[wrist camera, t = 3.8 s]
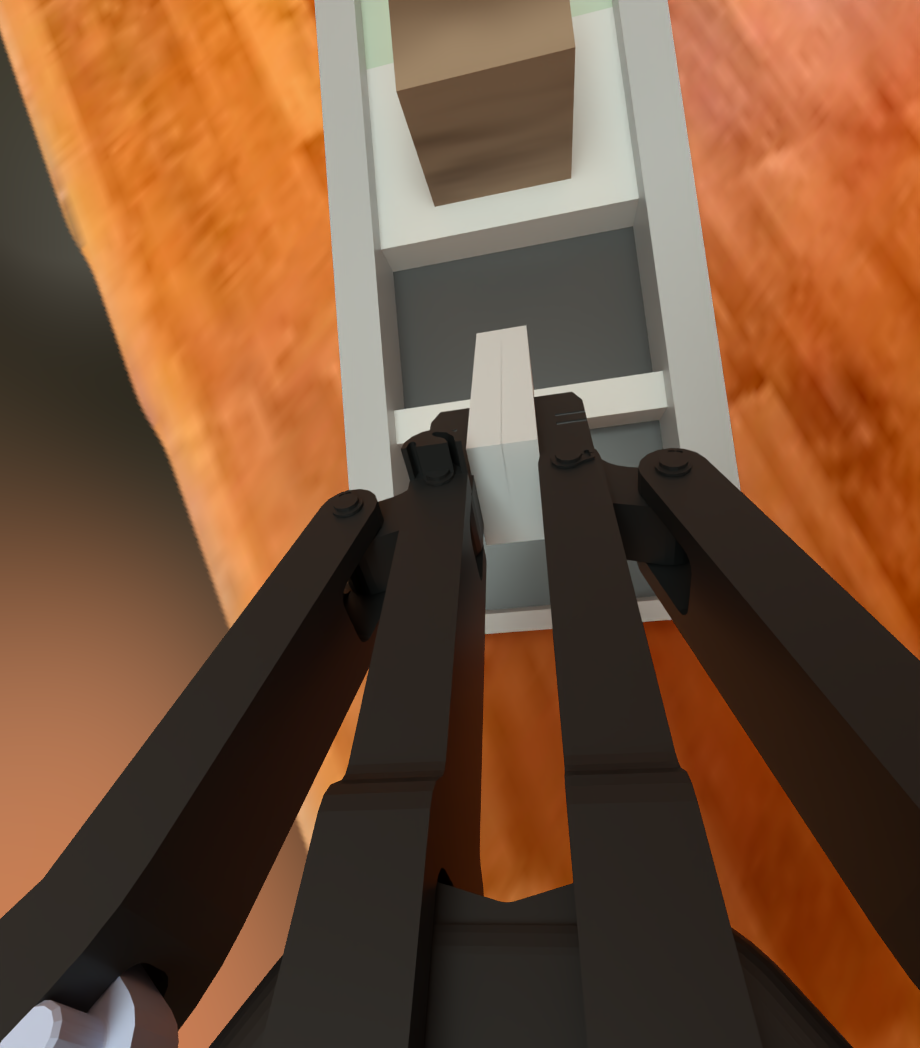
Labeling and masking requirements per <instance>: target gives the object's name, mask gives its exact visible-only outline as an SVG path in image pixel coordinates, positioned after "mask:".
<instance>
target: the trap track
mask: <svg viewBox="0 0 920 1048" xmlns="http://www.w3.org/2000/svg"><path fill="white" fill-rule="evenodd" d="M570 8H571V16H572V24H573V32H574V39H575V78H574V109H573V139H572V170H571V179H566V180H561V181H557V182H552V183H547V184H542V185H537V186H533V187H528V188H523V189H518V190H513V191H509V192H504V193H499V194H494V195H489V196H485V197H480V198H475V199H470V200H465V201H461V202H456V203H451V204H446V205H441V206H436V207H435V206H434V203H433V200H432V197H431V194H430V191H429V188H428V185H427V182H426V179H425V176H424V173H423V170H422V167H421V164H420V161H419V158H418V155H417V152H416V149H415V146H414V143H413V140H412V137H411V134H410V131H409V128H408V125H407V122H406V119H405V116H404V113H403V110H402V107H401V104H400V101H399V98H398V95H397V92H396V84H395V72H394V61H393V49H392V38H391V26H390V15H389V3H388V0H315V14H316V28H317V42H318V56H319V70H320V84H321V99H322V113H323V127H324V141H325V155H326V169H327V183H328V197H329V212H330V226H331V240H332V254H333V268H334V282H335V296H336V310H337V325H338V339H339V353H340V367H341V381H342V395H343V409H344V423H345V438H346V452H347V466H348V480H349V490H355V489H363V490H369V491H371V492H372V493H374V494H375V495H376V498H377V501H378V502H379V501H382V500H385V499H388V498H391V497H394V496H396V495H399V494H401V493H403V492H405V491H407V490H408V487H409V482H410V479H409V476H408V472H407V469H406V466H405V462H404V459H403V456H402V452H401V447H402V446H403V444H404V442H406V441H407V440H408V439H410V438H411V437H412V436H414V435H417V434H419V433H421V432H424V431H428V430H430V426H431V422H432V421H433V420H434V419H435V418H436V417H437V415H438V414H439V413H440V412H445V411H452V410H459V409H465V408H470V399H471V389H472V378H473V367H474V356H475V345H476V334H477V333H483V332H489V331H495V330H501V329H507V328H513V327H519V326H525V325H526V328H527V336H528V345H529V354H530V362H531V371H532V380H533V389H534V397H538V396H545V395H552V394H558V393H565V392H573V393H574V394H576V395H577V396H578V397H580V398H581V399H582V400H583V404H584V409H585V413H586V417H587V421H588V425H589V429H590V433H591V437H592V441H593V445H594V449H596V450H597V451H598V453H599V454H600V456H601V459H602V460H604V461H606V462H608V463H611V464H614V465H618V466H626V467H638V466H639V463H640V460H641V459H642V458H643V457H645V456H646V455H647V454H649V453H651V452H654V451H656V450H660V449H667V448H682V449H687V450H691V451H694V452H697V453H699V454H700V455H702V456H703V457H705V458H706V459H707V460H708V461H709V462H710V463H711V464H712V465H713V466H715V467H716V468H717V469H718V470H719V471H720V472H721V473H722V474H723V475H724V476H725V477H726V478H727V479H728V480H729V481H730V482H731V483H732V484H734V485H735V486H736V487H737V488H738V489H739V490H740V483H739V477H738V470H737V463H736V456H735V450H734V443H733V436H732V430H731V423H730V416H729V410H728V403H727V396H726V390H725V383H724V376H723V369H722V363H721V356H720V349H719V343H718V336H717V329H716V323H715V316H714V309H713V302H712V296H711V289H710V282H709V276H708V269H707V262H706V256H705V249H704V242H703V235H702V229H701V222H700V215H699V209H698V202H697V195H696V189H695V182H694V175H693V169H692V162H691V155H690V148H689V142H688V135H687V128H686V122H685V115H684V108H683V102H682V95H681V88H680V81H679V75H678V68H677V61H676V55H675V48H674V41H673V35H672V28H671V21H670V14H669V8H668V1H667V0H570ZM740 491H741V490H740ZM483 545H484V550H485V554H486V559H487V568H486V609H485V634H492V633H505V632H518V631H531V630H544V629H552V617H551V606H550V595H549V584H548V572H547V561H546V550H545V539H541V540H532V541H522V542H513V543H503V544H493V545H486V541H485V536H484V538H483ZM627 563H628V567H629V571H630V575H631V579H632V583H633V587H634V591H635V595H636V599H637V603H638V607H639V611H640V614H641V618H642V622H648V621H661V620H672V619H671V617H670V616H669V614H668V613H667V611H666V610H665V608H664V607H663V605H662V604H661V602H660V601H659V599H658V598H657V596H656V595H655V593H654V591H653V590H652V588H651V587H650V585H649V584H648V582H647V581H646V579H645V578H644V576H643V575H642V573H641V572H640V570H639V567H638V564H637V561H631V560H627Z"/></svg>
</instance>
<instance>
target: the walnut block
mask: <svg viewBox="0 0 920 1048" xmlns="http://www.w3.org/2000/svg"><path fill="white" fill-rule="evenodd" d="M388 3H389V15H390V26H391V38H392V49H393V61H394V72H395V84H396V92H397V95H398V98H399V101H400V104H401V107H402V110H403V113H404V116H405V119H406V122H407V125H408V128H409V131H410V134H411V137H412V140H413V143H414V146H415V149H416V152H417V155H418V158H419V161H420V164H421V167H422V170H423V173H424V176H425V179H426V182H427V185H428V188H429V191H430V194H431V197H432V200H433V203H434V206H435V207H436V206H441V205H446V204H451V203H456V202H461V201H465V200H470V199H475V198H480V197H485V196H489V195H494V194H499V193H504V192H509V191H513V190H518V189H523V188H528V187H533V186H537V185H542V184H547V183H552V182H557V181H561V180H566V179H571V170H572V139H573V109H574V78H575V39H574V32H573V24H572V16H571V8H570V0H388Z"/></svg>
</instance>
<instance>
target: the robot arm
mask: <svg viewBox="0 0 920 1048" xmlns="http://www.w3.org/2000/svg"><path fill="white" fill-rule="evenodd" d="M401 452H402V456H403V459H404V462H405V466H406V469H407V472H408V476H409V479H410V482H409V487H408V490H407V491H405V492H403V493H401V494H399V495H396V496H394V497H391V498H388V499H385V500H382V501H379V502H378V501H377V498H376V495H375V494H374V493H372V492H371V491H369V490H363V489H355V490H348V491H345V492H341V493H339V494H337V495H335V496H334V497H332V498H330V499H329V500H328V501H327V502H326V503H325V504H324V505H323V506H322V507H321V508H320V509H319V511H318V512H317V513H316V515H315V516H314V517H313V519H312V520H311V521H310V523H309V524H308V525H307V527H306V528H305V529H304V531H303V532H302V533H301V535H300V536H299V537H298V539H297V540H296V541H295V543H294V544H293V545H292V547H291V548H290V549H289V551H288V552H287V553H286V555H285V556H284V557H283V559H282V560H281V561H280V563H279V564H278V565H277V567H276V568H275V569H274V571H273V572H272V573H271V575H270V576H269V577H268V579H267V580H266V582H265V583H264V584H263V586H262V587H261V588H260V590H259V591H258V592H257V594H256V595H255V596H254V598H253V599H252V600H251V602H250V603H249V604H248V606H247V607H246V608H245V610H244V611H243V612H242V614H241V615H240V616H239V618H238V619H237V620H236V622H235V623H234V624H233V626H232V627H231V628H230V630H229V631H228V632H227V634H226V635H225V636H224V638H223V639H222V640H221V642H220V643H219V644H218V646H217V647H216V648H215V650H214V651H213V652H212V654H211V655H210V657H209V658H208V659H207V660H206V662H205V663H204V664H203V666H202V667H201V668H200V670H199V671H198V672H197V674H196V675H195V676H194V678H193V679H192V680H191V682H190V683H189V684H188V686H187V687H186V689H185V690H184V691H183V692H182V694H181V695H180V697H179V698H178V699H177V700H176V702H175V703H174V704H173V706H172V707H171V708H170V710H169V711H168V712H167V714H166V715H165V716H164V718H163V719H162V720H161V722H160V723H159V724H158V726H157V727H156V728H155V730H154V731H153V732H152V734H151V735H150V736H149V738H148V739H147V741H146V742H145V743H144V745H143V746H142V747H141V749H140V750H139V751H138V753H137V754H136V755H135V757H134V758H133V759H132V761H131V762H130V763H129V765H128V766H127V767H126V769H125V770H124V771H123V773H122V774H121V775H120V777H119V778H118V779H117V781H116V782H115V783H114V785H113V786H112V787H111V789H110V790H109V792H108V793H107V794H106V795H105V797H104V798H103V799H102V801H101V802H100V803H99V805H98V806H97V807H96V809H95V810H94V811H93V813H92V814H91V815H90V817H89V818H88V819H87V821H86V822H85V823H84V825H83V826H82V827H81V829H80V830H79V832H78V833H77V834H76V835H75V837H74V838H73V839H72V841H71V842H70V843H69V845H68V846H67V847H66V849H65V850H64V851H63V853H62V854H61V855H60V857H59V858H58V860H57V861H56V862H55V863H54V865H53V866H52V868H51V869H50V870H49V872H48V873H47V874H46V875H45V877H44V878H43V879H42V880H41V881H40V882H39V883H38V884H37V885H36V886H35V887H34V888H33V889H32V890H31V891H30V892H28V893H27V894H26V896H24V897H23V898H22V899H21V900H20V901H19V902H18V903H17V904H16V905H15V906H14V907H13V908H11V909H10V910H9V911H8V912H7V913H6V914H5V915H4V916H3V917H2V918H1V919H0V1048H178V1042H179V1041H178V1030H179V1029H180V1027H181V1026H182V1025H183V1024H184V1022H185V1021H186V1020H187V1018H188V1017H189V1016H190V1014H191V1013H192V1011H193V1010H194V1009H195V1007H196V1006H197V1004H198V1003H199V1001H200V999H201V998H202V996H203V995H204V993H205V992H206V990H207V988H208V987H209V985H210V984H211V982H212V980H213V979H214V977H215V976H216V974H217V973H218V971H219V970H220V968H221V966H222V965H223V963H224V961H225V959H226V957H227V955H228V953H229V951H230V950H231V948H232V946H233V944H234V942H235V940H236V938H237V936H238V935H239V933H240V931H241V929H242V927H243V925H244V923H245V921H246V919H247V917H248V915H249V913H250V911H251V909H252V906H253V905H254V903H255V901H256V899H257V896H258V894H259V892H260V890H261V888H262V886H263V884H264V882H265V880H266V878H267V876H268V874H269V872H270V870H271V868H272V866H273V864H274V862H275V860H276V857H277V855H278V853H279V851H280V849H281V847H282V845H283V843H284V841H285V839H286V837H287V835H288V833H289V831H290V829H291V827H292V825H293V823H294V820H295V818H296V816H297V814H298V812H299V810H300V808H301V806H302V804H303V802H304V800H305V798H306V796H307V794H308V792H309V790H310V788H311V786H312V784H313V782H314V779H315V777H316V775H317V773H318V771H319V769H320V767H321V765H322V763H323V761H324V759H325V757H326V755H327V753H328V751H329V749H330V747H331V745H332V743H333V741H334V738H335V736H336V734H337V732H338V730H339V728H340V726H341V724H342V722H343V720H344V718H345V716H346V714H347V712H348V710H349V708H350V706H351V704H352V702H353V699H354V697H355V695H356V693H357V691H358V689H359V687H360V685H361V683H362V681H363V679H364V677H365V675H366V673H367V671H368V669H369V672H368V676H367V681H366V685H365V690H364V695H363V699H362V704H361V709H360V713H359V718H358V722H357V727H356V732H355V736H354V741H353V745H352V750H351V755H350V759H349V764H348V768H347V771H346V774H345V776H344V777H343V779H342V780H341V781H338V782H336V783H333V784H331V785H330V786H329V788H328V789H327V791H326V792H325V794H324V796H323V799H322V802H321V804H320V807H319V810H318V814H317V818H316V822H315V826H314V830H313V835H312V839H311V843H310V847H309V851H308V855H307V859H306V863H305V868H304V872H303V876H302V880H301V884H300V888H299V892H298V896H297V900H296V905H295V908H294V913H293V917H292V921H291V925H290V929H289V934H288V938H287V941H286V945H285V950H284V954H283V956H282V957H281V958H280V959H279V960H278V961H277V963H276V964H275V965H274V966H273V968H272V969H271V970H270V971H269V973H268V974H267V975H266V976H265V977H264V979H263V980H262V981H261V983H260V984H259V985H258V986H257V988H256V989H255V990H254V991H253V993H252V994H251V995H250V996H249V998H248V999H247V1000H246V1001H245V1003H244V1004H243V1005H242V1006H241V1008H240V1009H239V1010H238V1011H237V1013H236V1014H235V1015H234V1016H233V1018H232V1019H231V1020H230V1021H229V1023H228V1024H227V1025H226V1026H225V1028H224V1029H223V1030H222V1031H221V1033H220V1034H219V1035H218V1036H217V1038H216V1039H215V1040H214V1041H213V1043H212V1044H211V1045H210V1047H209V1048H853V1047H852V1046H851V1045H850V1044H849V1043H848V1041H847V1040H846V1039H845V1038H844V1037H843V1036H842V1035H841V1034H840V1033H839V1032H838V1031H837V1029H836V1028H835V1027H834V1026H833V1025H832V1024H831V1023H830V1022H829V1021H828V1020H827V1019H826V1018H825V1016H824V1015H823V1014H822V1013H821V1012H820V1011H819V1010H818V1009H817V1008H816V1007H815V1006H814V1005H813V1003H812V1002H811V1001H810V1000H809V999H808V998H807V997H806V996H805V995H804V994H803V993H802V991H801V990H800V989H799V988H798V987H797V986H796V985H795V984H794V983H793V982H792V981H791V980H790V978H789V977H788V976H787V975H786V974H785V973H784V972H783V971H782V970H781V969H780V968H779V967H778V966H777V965H776V964H775V963H774V962H773V961H772V960H771V959H770V958H769V957H768V956H767V955H765V954H764V953H763V952H762V951H761V950H760V949H759V948H758V947H756V946H755V945H754V944H753V943H752V942H751V941H749V940H748V939H747V938H745V937H744V936H742V935H741V934H740V933H738V932H737V931H736V930H734V929H733V928H731V926H730V922H729V919H728V915H727V911H726V907H725V903H724V900H723V896H722V892H721V888H720V885H719V881H718V877H717V873H716V870H715V866H714V862H713V858H712V855H711V851H710V847H709V843H708V839H707V836H706V832H705V828H704V824H703V821H702V817H701V813H700V809H699V806H698V802H697V798H696V795H695V792H694V789H693V785H692V782H691V780H690V778H689V776H688V774H687V772H686V771H685V770H684V769H682V768H681V767H680V765H679V763H678V760H677V756H676V753H675V749H674V745H673V741H672V737H671V733H670V729H669V726H668V722H667V718H666V714H665V710H664V706H663V702H662V698H661V694H660V690H659V686H658V682H657V678H656V674H655V670H654V666H653V662H652V658H651V654H650V650H649V646H648V642H647V638H646V634H645V630H644V626H643V622H642V618H641V614H640V611H639V607H638V603H637V599H636V595H635V591H634V587H633V583H632V579H631V575H630V571H629V567H628V563H627V560H631V561H637V564H638V567H639V570H640V572H641V573H642V575H643V576H644V578H645V579H646V581H647V582H648V584H649V585H650V587H651V588H652V590H653V591H654V593H655V595H656V596H657V598H658V599H659V601H660V602H661V604H662V605H663V607H664V608H665V610H666V611H667V613H668V614H669V616H670V617H671V619H672V620H673V622H674V623H675V625H676V627H677V628H678V630H679V631H680V633H681V634H682V636H683V637H684V639H685V640H686V642H687V643H688V645H689V646H690V648H691V649H692V651H693V652H694V654H695V655H696V657H697V659H698V660H699V662H700V663H701V665H702V666H703V668H704V669H705V671H706V672H707V674H708V675H709V677H710V678H711V680H712V681H713V683H714V684H715V686H716V688H717V689H718V691H719V692H720V694H721V695H722V697H723V698H724V700H725V701H726V703H727V704H728V706H729V707H730V709H731V710H732V712H733V713H734V715H735V716H736V718H737V720H738V721H739V723H740V724H741V726H742V727H743V729H744V730H745V732H746V733H747V735H748V736H749V738H750V739H751V741H752V742H753V744H754V745H755V747H756V748H757V750H758V752H759V753H760V755H761V756H762V758H763V759H764V761H765V762H766V764H767V765H768V767H769V768H770V770H771V771H772V773H773V774H774V776H775V777H776V779H777V780H778V782H779V784H780V785H781V787H782V788H783V790H784V791H785V793H786V794H787V796H788V797H789V799H790V800H791V802H792V803H793V805H794V806H795V808H796V809H797V811H798V812H799V814H800V816H801V817H802V819H803V820H804V822H805V823H806V825H807V826H808V828H809V829H810V831H811V832H812V834H813V835H814V837H815V838H816V840H817V841H818V843H819V844H820V846H821V848H822V849H823V851H824V852H825V854H826V855H827V857H828V858H829V860H830V861H831V863H832V864H833V866H834V867H835V869H836V870H837V872H838V873H839V875H840V876H841V878H842V880H843V881H844V883H845V884H846V886H847V887H848V889H849V890H850V892H851V893H852V895H853V896H854V898H855V899H856V901H857V902H858V904H859V905H860V907H861V908H862V910H863V912H864V913H865V915H866V916H867V918H868V919H869V921H870V922H871V924H872V925H873V927H874V928H875V930H876V931H877V933H878V934H879V936H880V937H881V938H882V940H883V941H884V943H885V944H886V945H887V947H888V948H889V950H890V951H891V952H892V954H893V955H894V957H895V958H896V959H897V961H898V962H899V964H900V965H901V966H902V968H903V969H904V971H905V972H906V973H907V975H908V976H909V978H910V979H911V980H912V982H913V983H914V984H915V985H916V986H917V988H918V989H919V990H920V661H919V660H918V659H917V658H916V657H915V656H914V655H913V654H912V653H911V652H910V651H909V650H908V649H907V648H906V647H905V646H904V645H903V644H901V643H900V642H899V641H898V640H897V639H896V638H895V637H894V636H893V635H892V634H891V633H890V632H889V631H888V630H887V629H886V628H885V627H883V626H882V625H881V624H880V623H879V622H878V621H877V620H876V619H875V618H874V617H873V616H872V615H871V614H870V613H869V612H868V611H867V610H866V609H864V608H863V607H862V606H861V605H860V604H859V603H858V602H857V601H856V600H855V599H854V598H853V597H852V596H851V595H850V594H849V593H848V592H847V591H845V590H844V589H843V588H842V587H841V586H840V585H839V584H838V583H837V582H836V581H835V580H834V579H833V578H832V577H831V576H830V575H829V574H828V573H826V572H825V571H824V570H823V569H822V568H821V567H820V566H819V565H818V564H817V563H816V562H815V561H814V560H813V559H812V558H811V557H810V556H809V555H807V554H806V553H805V552H804V551H803V550H802V549H801V548H800V547H799V546H798V545H797V544H796V543H795V542H794V541H793V540H792V539H791V538H789V537H788V536H787V535H786V534H785V533H784V532H783V531H782V530H781V529H780V528H779V527H778V526H777V525H776V524H775V523H774V522H773V521H772V520H770V519H769V518H768V517H767V516H766V515H765V514H764V513H763V512H762V511H761V510H760V509H759V508H758V507H757V506H756V505H755V504H754V503H753V502H751V501H750V500H749V499H748V498H747V497H746V496H745V495H744V494H743V493H742V492H741V491H740V490H739V489H738V488H737V487H736V486H735V485H734V484H732V483H731V482H730V481H729V480H728V479H727V478H726V477H725V476H724V475H723V474H722V473H721V472H720V471H719V470H718V469H717V468H716V467H715V466H713V465H712V464H711V463H710V462H709V461H708V460H707V459H706V458H705V457H703V456H702V455H700V454H699V453H697V452H694V451H691V450H687V449H682V448H667V449H660V450H656V451H654V452H651V453H649V454H647V455H646V456H645V457H643V458H642V459H641V460H640V463H639V466H638V467H626V466H618V465H614V464H611V463H608V462H606V461H604V460H602V459H601V456H600V454H599V453H598V451H597V450H596V449H594V445H593V441H592V437H591V433H590V429H589V425H588V421H587V417H586V413H585V409H584V404H583V400H582V399H581V398H580V397H578V396H577V395H576V394H574V393H573V392H565V393H558V394H552V395H545V396H538V397H534V389H533V380H532V371H531V362H530V354H529V345H528V336H527V328H526V325H525V326H519V327H513V328H507V329H501V330H495V331H489V332H483V333H477V334H476V345H475V356H474V367H473V378H472V389H471V399H470V408H465V409H459V410H452V411H445V412H440V413H439V414H438V415H437V417H436V418H435V419H434V420H433V421H432V422H431V426H430V430H428V431H424V432H421V433H419V434H417V435H414V436H412V437H411V438H410V439H408V440H407V441H406V442H404V444H403V446H402V447H401ZM484 536H485V541H486V545H493V544H503V543H513V542H522V541H532V540H541V539H545V550H546V561H547V572H548V584H549V595H550V606H551V617H552V629H553V640H554V651H555V663H556V674H557V685H558V696H559V708H560V719H561V730H562V742H563V753H564V765H565V789H566V802H567V814H568V825H569V837H570V848H571V860H572V871H573V883H572V884H569V885H566V886H563V887H560V888H556V889H553V890H550V891H547V892H544V893H540V894H537V895H534V896H531V897H528V898H524V899H521V900H518V901H514V902H500V901H496V900H493V899H490V898H487V897H484V893H483V882H482V874H481V866H480V812H481V772H482V731H483V690H484V650H485V609H486V568H487V559H486V554H485V550H484V545H483V538H484Z"/></svg>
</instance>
